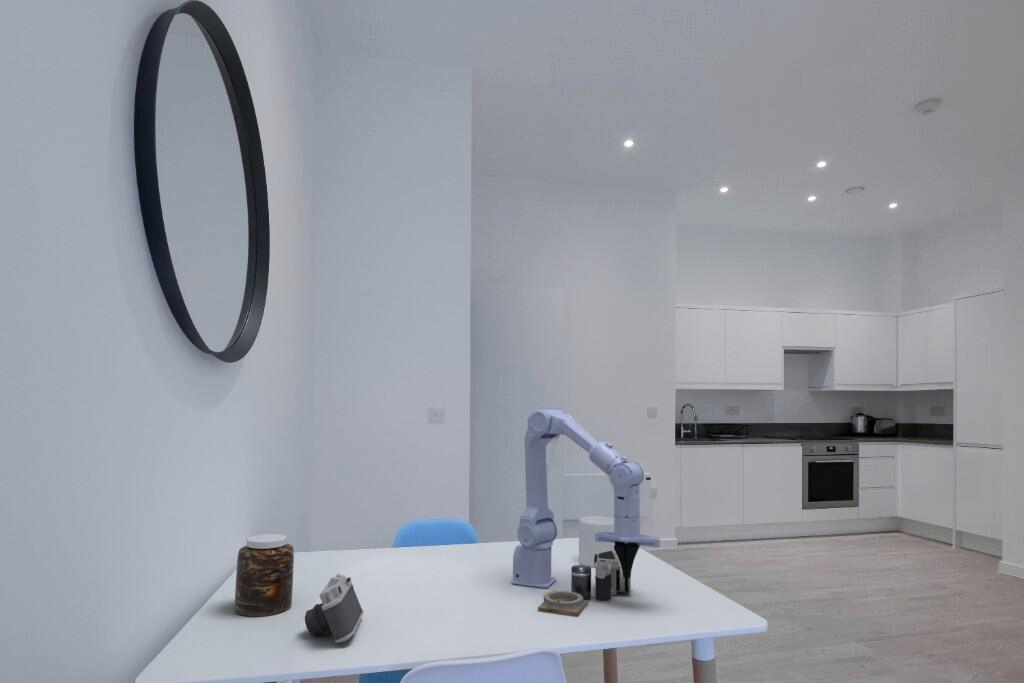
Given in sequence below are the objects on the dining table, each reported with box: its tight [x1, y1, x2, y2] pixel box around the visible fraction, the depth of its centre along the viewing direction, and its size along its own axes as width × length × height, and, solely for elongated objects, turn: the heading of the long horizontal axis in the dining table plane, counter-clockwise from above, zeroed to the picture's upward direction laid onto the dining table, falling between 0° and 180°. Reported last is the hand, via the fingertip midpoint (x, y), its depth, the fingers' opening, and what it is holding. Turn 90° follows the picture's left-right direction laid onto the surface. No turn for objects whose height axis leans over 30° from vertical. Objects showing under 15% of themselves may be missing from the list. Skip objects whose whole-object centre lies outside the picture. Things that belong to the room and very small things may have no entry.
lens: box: [570, 564, 592, 602], centre depth 143 cm, size 5×5×7 cm
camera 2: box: [594, 550, 632, 605], centre depth 147 cm, size 16×9×10 cm, turn 168°
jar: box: [234, 533, 295, 618], centre depth 134 cm, size 12×12×15 cm
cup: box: [578, 516, 621, 569], centre depth 176 cm, size 12×12×12 cm
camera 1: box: [304, 573, 364, 644], centre depth 121 cm, size 9×16×10 cm, turn 6°
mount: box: [537, 590, 589, 617], centre depth 136 cm, size 9×9×2 cm
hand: (627, 576), depth 139 cm, fingers closed
